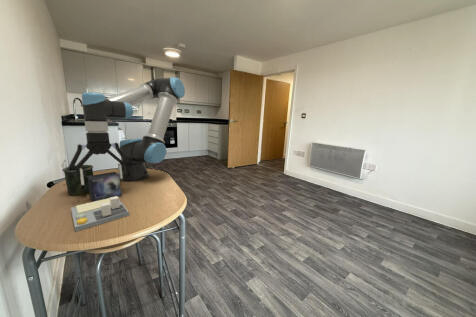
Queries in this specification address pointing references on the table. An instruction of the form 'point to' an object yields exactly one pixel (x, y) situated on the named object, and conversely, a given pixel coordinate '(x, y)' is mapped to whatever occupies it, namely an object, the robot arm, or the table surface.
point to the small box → (104, 186)
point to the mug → (77, 180)
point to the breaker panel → (95, 214)
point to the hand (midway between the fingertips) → (102, 181)
